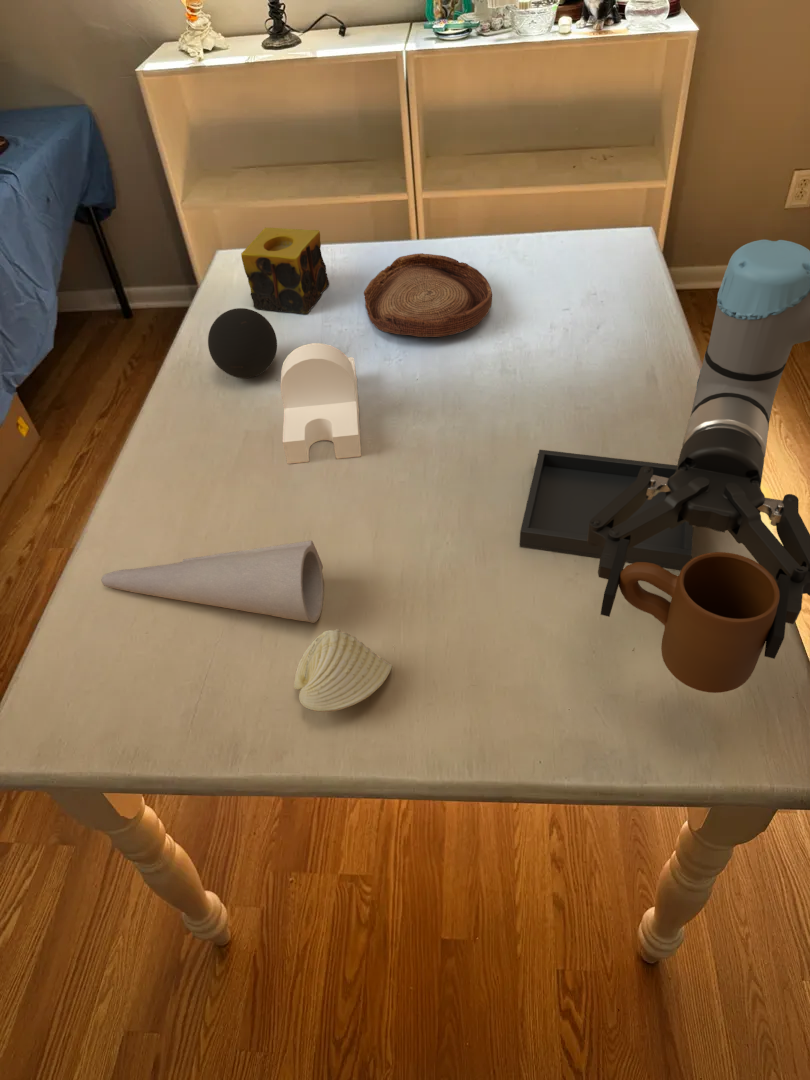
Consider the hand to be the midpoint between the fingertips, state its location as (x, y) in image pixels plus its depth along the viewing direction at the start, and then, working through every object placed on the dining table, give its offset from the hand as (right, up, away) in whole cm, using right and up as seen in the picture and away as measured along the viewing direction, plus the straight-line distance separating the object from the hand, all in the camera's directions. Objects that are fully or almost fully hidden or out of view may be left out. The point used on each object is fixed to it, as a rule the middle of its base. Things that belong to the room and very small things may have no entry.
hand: (687, 626), depth 62 cm
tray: (+2, +10, +32) cm, 33 cm away
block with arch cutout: (-34, +24, +48) cm, 64 cm away
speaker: (-46, +32, +58) cm, 80 cm away
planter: (-44, -1, +26) cm, 52 cm away
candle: (-42, +48, +72) cm, 96 cm away
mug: (+1, -3, +6) cm, 7 cm away
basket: (-19, +44, +66) cm, 82 cm away
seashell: (-29, -9, +17) cm, 35 cm away
